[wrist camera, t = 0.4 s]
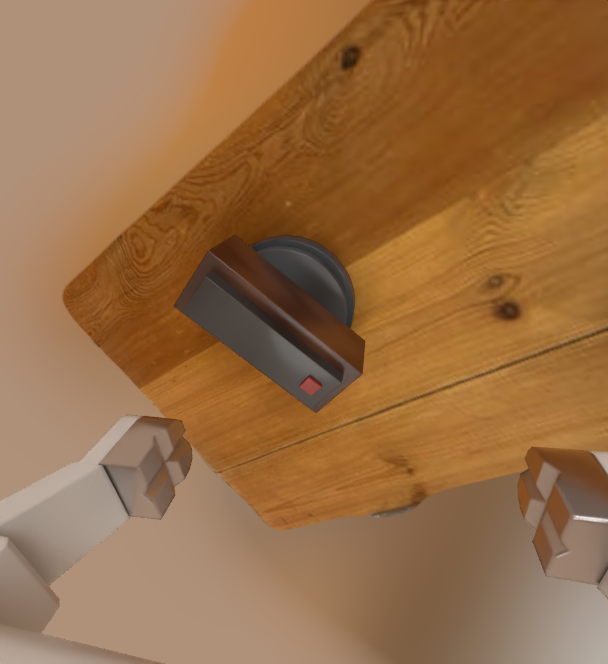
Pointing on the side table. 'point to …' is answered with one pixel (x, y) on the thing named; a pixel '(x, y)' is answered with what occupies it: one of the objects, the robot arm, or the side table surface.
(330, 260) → the turntable base
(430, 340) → the side table surface
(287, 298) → the remote caddy
